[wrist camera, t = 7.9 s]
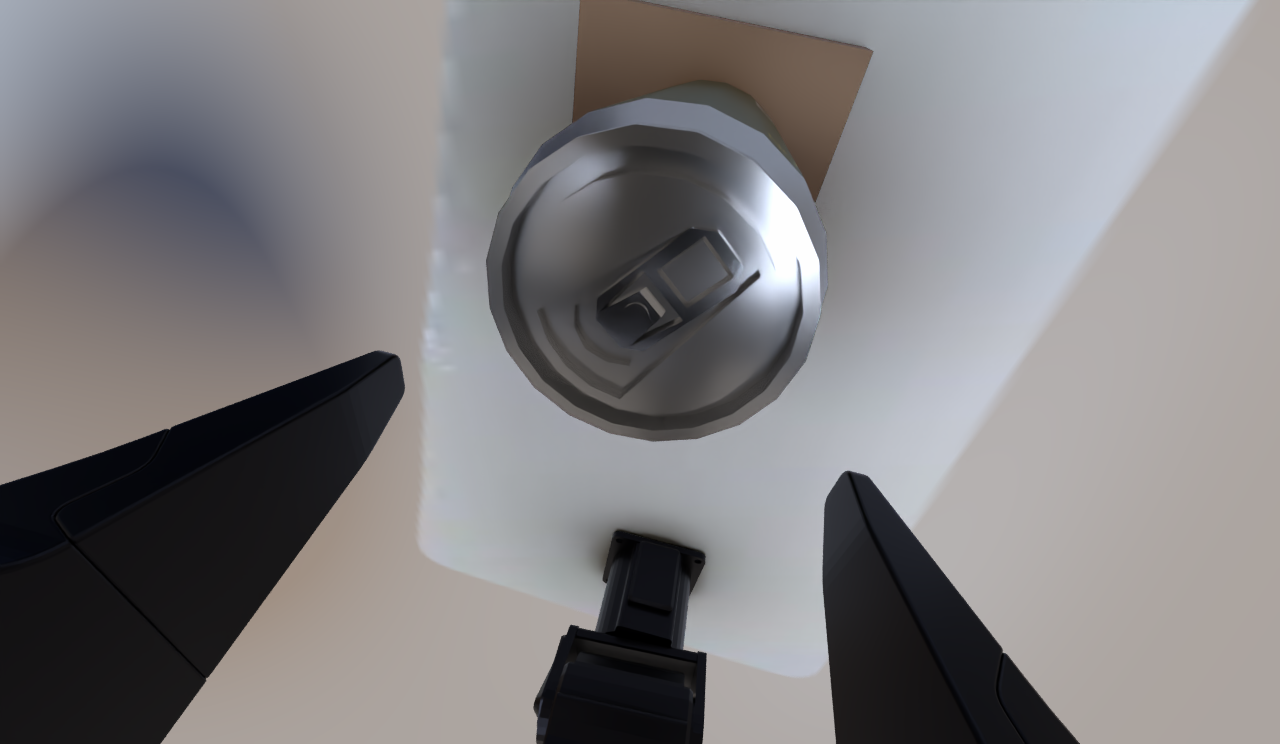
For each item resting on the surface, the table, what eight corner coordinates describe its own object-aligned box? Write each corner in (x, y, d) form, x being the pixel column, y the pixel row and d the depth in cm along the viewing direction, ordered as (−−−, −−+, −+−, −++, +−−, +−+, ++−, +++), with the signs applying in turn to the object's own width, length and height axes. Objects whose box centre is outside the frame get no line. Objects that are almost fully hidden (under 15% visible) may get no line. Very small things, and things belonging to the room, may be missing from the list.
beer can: (721, 37, 15) (681, -16, 5) (811, 182, 17) (913, 354, 7) (595, 153, 18) (402, 271, 8) (685, 270, 19) (625, 493, 9)
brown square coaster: (773, 284, 22) (774, 307, 20) (576, 239, 22) (563, 258, 21) (861, 45, 16) (873, 51, 15) (596, -10, 17) (580, -9, 15)
